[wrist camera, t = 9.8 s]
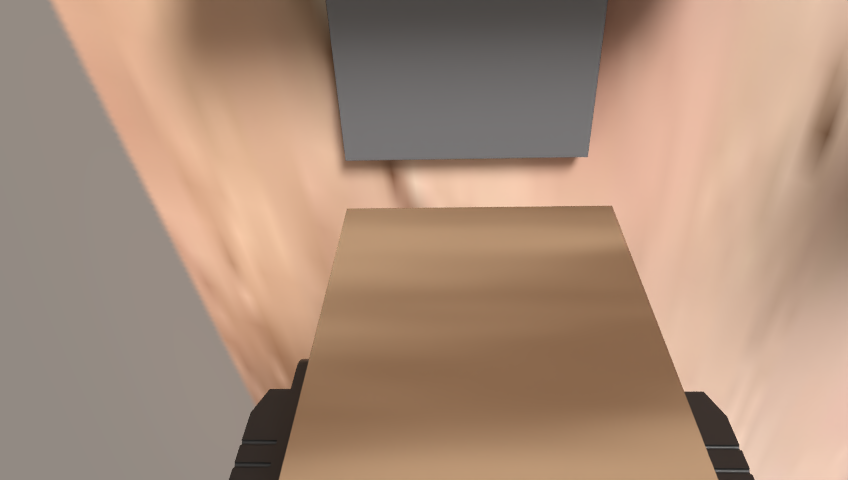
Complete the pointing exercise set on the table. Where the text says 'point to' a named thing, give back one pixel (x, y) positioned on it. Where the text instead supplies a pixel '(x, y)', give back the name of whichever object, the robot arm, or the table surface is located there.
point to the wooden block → (490, 354)
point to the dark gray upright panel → (466, 77)
